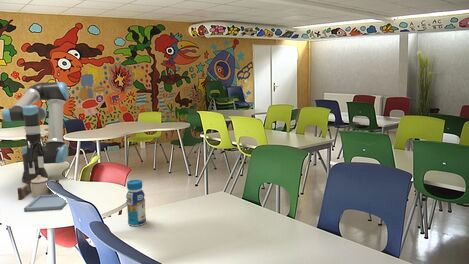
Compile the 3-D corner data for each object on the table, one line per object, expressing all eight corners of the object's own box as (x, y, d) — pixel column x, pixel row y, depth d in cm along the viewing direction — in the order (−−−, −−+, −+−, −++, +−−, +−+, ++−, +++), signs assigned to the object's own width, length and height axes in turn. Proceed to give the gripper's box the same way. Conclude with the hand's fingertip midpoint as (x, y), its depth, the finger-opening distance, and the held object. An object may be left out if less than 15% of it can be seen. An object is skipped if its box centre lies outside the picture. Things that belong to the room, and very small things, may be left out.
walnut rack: (28, 191, 233) (27, 181, 231) (59, 190, 234) (58, 179, 233) (18, 199, 219) (17, 188, 218) (51, 198, 221) (50, 186, 220)
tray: (38, 198, 220) (38, 195, 220) (72, 196, 222) (72, 193, 222) (24, 211, 200) (23, 208, 200) (61, 209, 202) (61, 206, 202)
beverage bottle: (126, 221, 186) (124, 180, 182) (145, 218, 189) (142, 177, 185) (128, 228, 178) (125, 185, 174) (147, 225, 181) (145, 182, 177)
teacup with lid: (53, 194, 227) (51, 174, 225) (37, 199, 220) (35, 178, 218) (41, 190, 234) (39, 171, 232) (26, 195, 226) (24, 175, 224)
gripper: (34, 130, 232) (38, 165, 236) (16, 137, 208) (20, 176, 211) (47, 129, 233) (51, 164, 236) (31, 136, 209) (35, 175, 212)
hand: (36, 170), depth 224 cm, fingers open, 13 cm apart
